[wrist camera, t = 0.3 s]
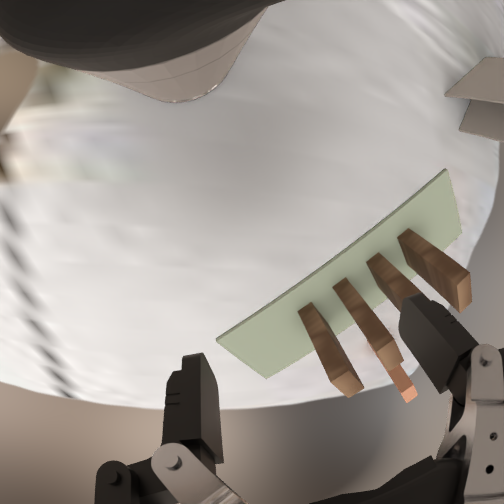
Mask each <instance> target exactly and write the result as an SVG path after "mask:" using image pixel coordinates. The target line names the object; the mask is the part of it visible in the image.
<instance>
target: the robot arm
mask: <svg viewBox="0 0 504 504" xmlns="http://www.w3.org/2000/svg"><path fill="white" fill-rule="evenodd" d="M282 1H284V0H0V36H1V37H2V38H3V39H4V40H5V41H6V42H7V43H8V44H9V45H10V46H12V47H13V48H15V49H16V50H18V51H20V52H22V53H24V54H26V55H28V56H31V57H34V58H37V59H40V60H43V61H46V62H49V63H53V64H57V65H60V66H64V67H68V68H71V69H74V70H77V71H80V72H83V73H87V74H90V75H93V76H96V77H98V78H101V79H105V80H108V81H111V82H113V83H116V84H119V85H121V86H124V87H127V88H129V89H132V90H134V91H137V92H139V93H142V94H144V95H146V96H149V97H151V98H154V99H157V100H160V101H163V102H171V103H178V102H187V101H191V100H195V99H197V98H200V97H202V96H204V95H206V94H207V93H209V92H210V91H212V90H213V89H215V88H216V87H217V86H218V85H219V84H220V83H221V82H222V81H223V79H224V78H225V76H226V75H227V73H228V72H229V70H230V68H231V67H232V65H233V64H234V62H235V60H236V58H237V56H238V55H239V53H240V51H241V50H242V48H243V46H244V45H245V43H246V41H247V40H248V38H249V36H250V35H251V33H252V31H253V30H254V28H255V27H256V25H257V23H258V22H259V20H260V19H261V17H262V15H263V14H264V12H265V11H266V9H267V8H268V6H270V5H273V4H276V3H279V2H282ZM399 333H400V336H401V338H402V340H403V341H404V343H405V344H406V345H407V347H408V348H409V350H410V351H411V352H412V354H413V355H414V357H415V358H416V360H417V361H418V362H419V364H420V365H421V367H422V368H423V370H424V371H425V373H426V374H427V375H428V377H429V378H430V380H431V381H432V383H433V384H434V386H435V387H436V389H437V390H438V392H439V394H441V393H443V392H445V391H447V390H448V389H449V390H450V392H451V394H450V398H449V407H448V415H447V422H446V428H445V434H444V438H443V440H442V443H441V445H440V447H439V450H438V453H437V456H436V459H435V460H433V458H432V456H429V457H427V458H425V459H423V460H421V461H419V462H418V463H416V464H414V465H412V466H410V467H408V468H406V469H404V470H403V471H401V472H400V473H399V474H398V475H396V476H395V477H394V478H392V479H391V480H390V481H388V482H387V483H385V484H384V485H383V486H381V487H380V488H378V489H375V490H370V491H364V492H356V493H348V494H341V495H338V496H335V497H331V498H328V499H325V500H321V501H318V502H313V503H310V504H504V348H502V349H499V350H497V349H496V348H495V347H493V346H492V345H489V344H481V345H479V344H478V343H477V341H476V340H475V339H474V338H473V337H472V336H471V335H470V334H469V332H468V331H467V330H466V329H465V328H464V327H463V326H462V325H461V324H460V323H459V322H458V321H457V320H456V319H455V317H454V316H453V315H451V313H450V312H449V311H448V310H447V309H446V308H445V307H444V306H443V305H441V304H439V303H437V302H435V301H433V300H432V301H430V300H429V299H428V298H427V297H426V296H425V295H424V294H422V293H420V292H419V293H416V294H413V295H411V296H408V297H406V298H404V299H403V301H402V307H401V314H400V320H399ZM221 463H224V459H223V448H222V436H221V424H220V409H219V394H218V386H217V382H216V378H215V376H214V374H213V372H212V370H211V368H210V366H209V363H208V361H207V359H206V357H205V355H204V354H203V353H197V354H192V355H186V356H183V358H182V370H179V371H173V372H172V374H171V376H170V378H169V380H168V381H167V386H166V397H165V408H164V421H163V436H162V443H161V446H160V447H159V448H158V449H157V450H156V451H155V452H154V454H153V456H152V457H150V458H149V459H147V460H144V461H140V462H137V463H134V464H130V465H127V466H126V465H125V464H123V463H121V462H119V461H108V462H106V463H104V464H103V465H102V466H101V467H100V468H99V469H98V471H97V475H96V486H95V504H177V503H180V504H249V503H248V502H246V501H245V500H244V499H243V498H241V497H240V496H239V495H238V494H237V493H236V492H234V491H233V490H232V489H231V488H230V487H229V486H227V485H226V484H225V483H224V482H223V481H222V480H221V479H220V478H219V477H218V476H217V475H216V467H215V464H221Z"/></svg>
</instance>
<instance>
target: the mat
mask: <svg viewBox="0 0 504 504" xmlns="http://www.w3.org/2000/svg"><path fill="white" fill-rule="evenodd" d="M408 228H409V229H411V230H412V231H414V232H415V233H417V234H418V235H420V236H421V237H423V238H424V239H425V240H427V241H428V242H430V243H431V244H432V245H434V246H435V247H437V248H438V249H439V250H441V251H442V252H443V251H444V250H445V249H446V248H447V247H448V246H449V245H450V244H451V243H452V242H453V241H454V240H455V239H456V238H457V237H458V236H459V235H460V234H461V233H462V229H461V223H460V218H459V213H458V209H457V204H456V200H455V196H454V192H453V188H452V184H451V180H450V177H449V173H448V170H447V169H444V170H443V171H442V172H440V173H439V174H438V175H437V176H436V177H435V178H433V179H432V180H431V181H430V182H429V183H428V184H426V185H425V186H424V187H423V188H422V189H420V190H419V191H418V192H417V193H416V194H414V195H413V196H412V197H411V198H410V199H408V200H407V201H406V202H405V203H404V204H402V205H401V206H400V207H399V208H397V209H396V210H395V211H394V212H392V213H391V214H390V215H389V216H387V217H386V218H385V219H384V220H382V221H381V222H380V223H379V224H377V225H376V226H375V227H373V228H372V229H371V230H370V231H368V232H367V233H366V234H364V235H363V236H362V237H360V238H359V239H358V240H357V241H355V242H354V243H353V244H351V245H350V246H349V247H347V248H346V249H345V250H343V251H342V252H341V253H339V254H338V255H337V256H335V257H334V258H333V259H331V260H330V261H329V262H327V263H326V264H324V265H323V266H322V267H320V268H319V269H318V270H316V271H315V272H313V273H312V274H311V275H309V276H308V277H307V278H305V279H304V280H302V281H301V282H300V283H298V284H297V285H295V286H294V287H292V288H291V289H290V290H288V291H287V292H285V293H284V294H282V295H281V296H280V297H278V298H277V299H275V300H274V301H272V302H271V303H269V304H268V305H266V306H265V307H264V308H262V309H261V310H259V311H258V312H256V313H255V314H253V315H252V316H250V317H249V318H247V319H246V320H244V321H243V322H241V323H240V324H238V325H237V326H235V327H233V328H232V329H230V330H229V331H227V332H226V333H224V334H223V335H221V336H220V337H218V338H216V342H217V343H219V344H220V345H221V346H222V347H224V348H225V349H226V350H228V351H229V352H230V353H231V354H233V355H234V356H235V357H237V358H238V359H239V360H241V361H242V362H243V363H245V364H246V365H248V366H249V367H250V368H252V369H253V370H254V371H256V372H257V373H259V374H260V375H261V376H263V377H264V378H266V379H267V378H269V377H271V376H273V375H274V374H276V373H278V372H280V371H281V370H283V369H285V368H286V367H288V366H290V365H291V364H293V363H295V362H296V361H298V360H300V359H301V358H303V357H304V356H306V355H308V354H309V353H311V352H312V351H314V350H315V348H314V346H313V343H312V341H311V339H310V337H309V335H308V333H307V331H306V329H305V326H304V324H303V322H302V320H301V318H300V316H299V314H298V312H297V311H299V310H300V309H301V308H303V307H304V306H306V305H307V304H309V303H310V302H312V303H313V305H314V306H315V307H316V308H317V310H318V311H319V312H320V313H321V315H322V316H323V317H324V319H325V320H326V321H327V322H328V324H329V325H330V327H331V329H332V331H333V332H334V334H335V336H337V335H338V334H340V333H341V332H342V331H344V330H345V329H347V328H348V327H350V326H351V325H352V324H354V323H355V320H354V319H353V317H352V316H351V315H350V313H349V312H348V310H347V309H346V307H345V306H344V304H343V303H342V301H341V300H340V298H339V297H338V295H337V294H336V292H335V291H334V289H333V288H332V287H333V286H334V285H335V284H337V283H338V282H340V281H341V280H342V279H344V278H345V277H346V278H347V279H348V281H349V282H350V283H351V284H352V285H353V287H354V288H355V289H356V290H357V292H358V293H359V294H360V295H361V297H362V298H363V299H364V300H365V302H366V303H367V304H368V306H369V307H370V308H371V309H372V310H373V309H374V308H376V307H377V306H378V305H380V304H381V303H382V302H383V301H385V300H386V299H387V296H386V295H385V294H384V293H383V292H382V291H381V290H380V289H379V288H378V286H377V284H376V282H375V279H374V277H373V275H372V273H371V271H370V270H369V268H368V266H367V264H366V261H368V260H369V259H370V258H371V257H373V256H374V255H375V254H377V253H378V252H379V253H380V254H381V255H382V256H384V257H385V258H386V259H387V260H388V261H389V262H390V263H391V264H392V265H394V266H395V267H396V268H397V269H398V270H399V271H400V272H401V273H402V274H403V275H404V276H405V277H406V278H408V279H409V280H411V279H412V278H413V277H414V276H416V275H417V273H416V272H415V271H414V270H413V269H412V268H410V267H409V266H408V265H407V263H406V260H405V257H404V255H403V252H402V249H401V247H400V244H399V242H398V239H397V237H398V236H399V235H400V234H402V233H403V232H404V231H405V230H406V229H408Z"/></svg>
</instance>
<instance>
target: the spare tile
mask: <svg viewBox="0 0 504 504" xmlns="http://www.w3.org/2000/svg"><path fill="white" fill-rule="evenodd" d="M367 341H368V340H367ZM368 343H369V341H368ZM369 344H370V343H369ZM370 346H371V344H370ZM371 347H372V346H371ZM372 349H373V347H372ZM373 351H374V352H375V350H374V349H373ZM375 354H376V355H377V353H376V352H375ZM377 357H378V358H379V356H378V355H377ZM379 360H380V358H379ZM380 361H381V360H380ZM381 363H382V361H381ZM382 365H383V366H384V364H383V363H382ZM384 368H385V369H386V367H385V366H384ZM386 371H387V372H388V370H387V369H386ZM388 374H389V376H390V377H391V379H392V380H393V382H394V384H395V385H396V387H397V388H398V390H399V392H400V393H401V395H402V396H403V398H404V400H405V401H406V403H408V402H409V401H411V400H412V399H413V398H415V397H416V396H417V392H416V389H415V387H414V385H413V383H412V382H411V380H410V379H409V377H408V376H407V374H406V373H405V371H404V370H403V368H402V367H401V365H400V364H399V365H397V366H396V367H395V368H393V369H392V370H391V371H389V372H388Z"/></svg>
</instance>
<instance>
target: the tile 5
mask: <svg viewBox="0 0 504 504" xmlns="http://www.w3.org/2000/svg"><path fill="white" fill-rule="evenodd" d="M397 239H398V242H399V244H400V247H401V249H402V252H403V255H404V257H405V260H406V263H407V265H408V266H409V267H410V268H412V269H413V270H414V271H415V272H416V273H417V274H418V275H419V276H421V277H422V278H423V279H424V280H425V281H426V282H427V283H428V284H429V285H431V286H432V287H433V288H434V289H435V290H436V291H437V292H438V293H439V294H440V295H441V296H442V297H443V298H444V299H446V300H447V301H448V302H449V303H450V304H451V305H452V306H453V307H454V308H455V309H456V310H457V311H458V312H459V313H461V312H462V311H463V310H464V309H465V308H466V307H467V306H468V305H469V304H470V303H471V302H472V294H471V279H470V272H468V271H467V270H466V269H465V268H463V267H462V266H461V265H460V264H458V263H457V262H456V261H454V260H453V259H452V258H450V257H449V256H448V255H446V254H445V253H444V252H442V251H441V250H439V249H438V248H437V247H435V246H434V245H432V244H431V243H430V242H428V241H427V240H425V239H424V238H423V237H421V236H420V235H418V234H417V233H415V232H414V231H412V230H411V229H409V228H408V229H406V230H405V231H404V232H403V233H402V234H400V235H399V236H398V237H397Z"/></svg>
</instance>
